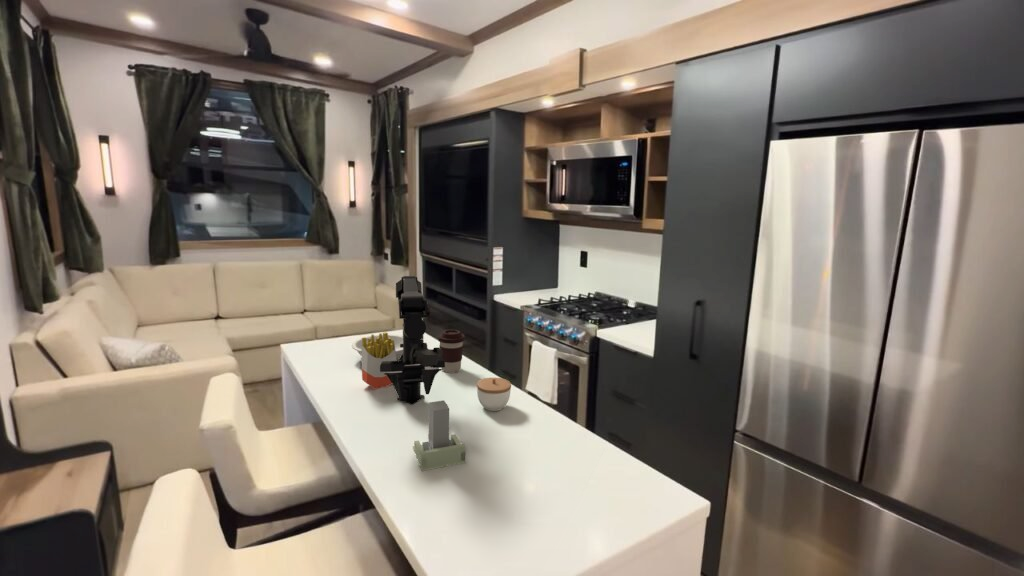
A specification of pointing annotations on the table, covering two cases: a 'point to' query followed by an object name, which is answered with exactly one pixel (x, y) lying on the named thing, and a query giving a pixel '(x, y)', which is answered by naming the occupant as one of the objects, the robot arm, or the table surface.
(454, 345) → the coffee cup
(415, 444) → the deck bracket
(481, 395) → the lidded jar
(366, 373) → the french fries container
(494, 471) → the table surface
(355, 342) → the soup bowl
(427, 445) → the grey pillar on base
